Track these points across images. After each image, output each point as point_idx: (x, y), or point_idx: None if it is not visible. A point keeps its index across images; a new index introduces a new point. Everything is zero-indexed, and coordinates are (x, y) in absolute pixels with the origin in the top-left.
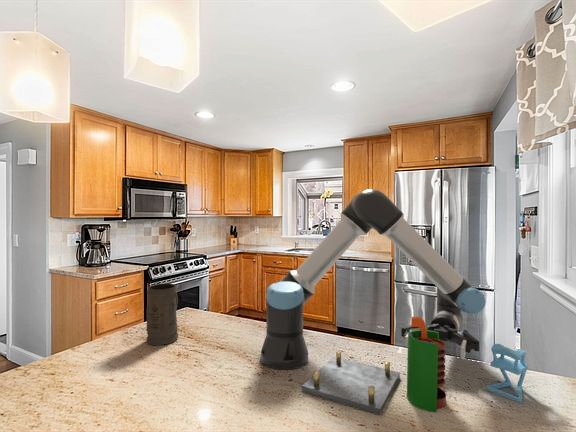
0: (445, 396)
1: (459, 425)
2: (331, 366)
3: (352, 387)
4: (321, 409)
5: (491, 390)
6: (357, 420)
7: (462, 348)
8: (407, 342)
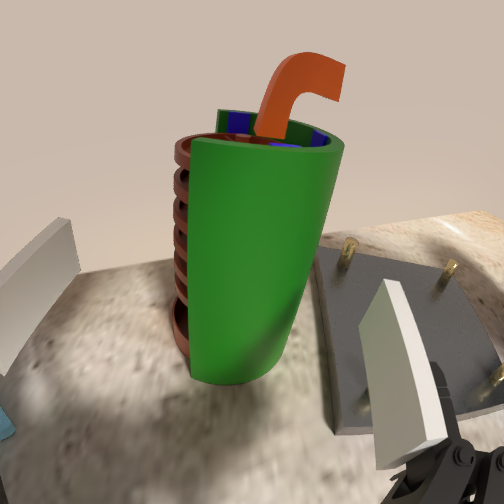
0: (176, 298)
1: (163, 263)
2: (485, 350)
3: None
4: (392, 252)
5: (6, 415)
6: (337, 243)
7: (65, 220)
8: (372, 306)
